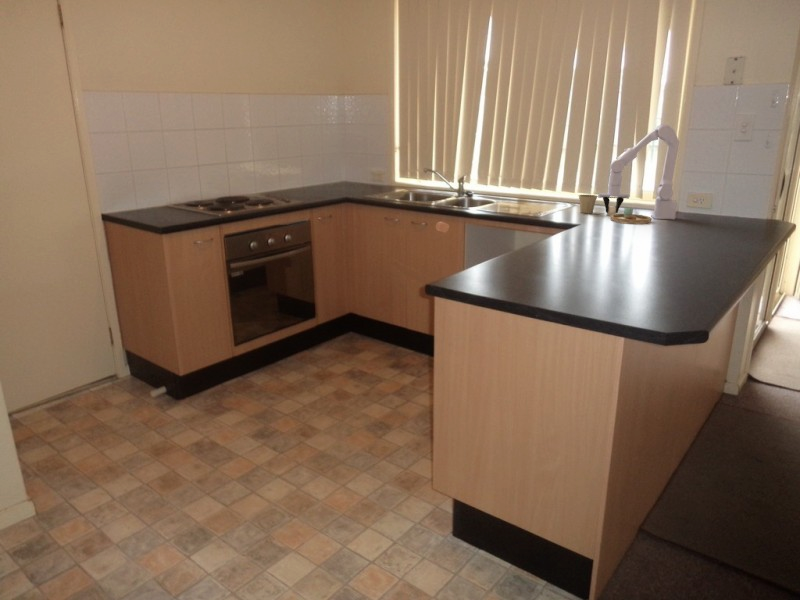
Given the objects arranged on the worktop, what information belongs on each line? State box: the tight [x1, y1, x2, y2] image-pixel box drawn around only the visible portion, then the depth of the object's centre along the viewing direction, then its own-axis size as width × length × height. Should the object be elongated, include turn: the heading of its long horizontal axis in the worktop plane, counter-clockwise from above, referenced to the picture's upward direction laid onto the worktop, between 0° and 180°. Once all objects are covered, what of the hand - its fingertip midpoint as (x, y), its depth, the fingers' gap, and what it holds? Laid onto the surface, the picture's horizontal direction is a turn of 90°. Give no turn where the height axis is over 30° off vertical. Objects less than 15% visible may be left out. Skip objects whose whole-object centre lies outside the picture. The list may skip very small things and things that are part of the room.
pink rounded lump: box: [435, 221, 450, 234], centre depth 253 cm, size 4×4×4 cm
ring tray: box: [609, 213, 653, 225], centre depth 285 cm, size 18×18×2 cm
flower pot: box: [578, 194, 598, 214], centre depth 306 cm, size 9×9×9 cm
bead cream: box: [606, 205, 617, 217], centre depth 298 cm, size 4×4×4 cm
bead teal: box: [623, 207, 634, 218], centre depth 289 cm, size 4×4×4 cm
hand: (611, 212), depth 299 cm, fingers closed on bead cream, 4 cm apart
